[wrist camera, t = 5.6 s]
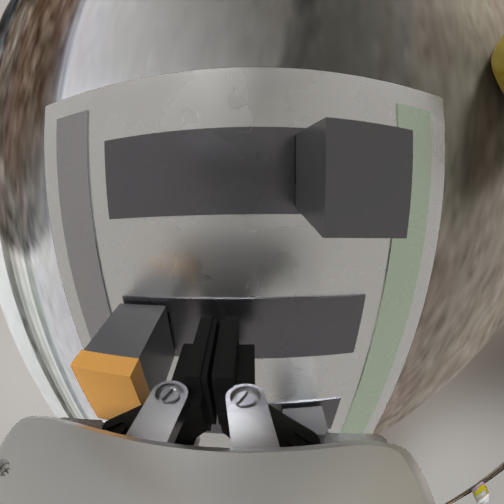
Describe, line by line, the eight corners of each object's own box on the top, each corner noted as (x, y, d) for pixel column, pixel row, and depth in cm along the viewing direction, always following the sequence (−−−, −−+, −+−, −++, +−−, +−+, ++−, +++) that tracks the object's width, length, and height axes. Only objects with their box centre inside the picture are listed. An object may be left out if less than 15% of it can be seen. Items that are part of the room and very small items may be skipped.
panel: (61, 108, 11) (44, 106, 9) (427, 101, 11) (443, 97, 9) (131, 424, 18) (126, 437, 17) (365, 424, 18) (370, 437, 17)
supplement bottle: (481, 482, 49) (489, 500, 37) (469, 490, 50) (477, 508, 37) (484, 479, 47) (493, 497, 35) (472, 487, 48) (480, 506, 36)
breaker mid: (119, 302, 12) (70, 365, 8) (166, 304, 12) (129, 376, 8) (132, 351, 13) (97, 417, 9) (176, 355, 13) (151, 428, 9)
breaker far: (282, 408, 15) (288, 468, 11) (322, 405, 15) (335, 463, 11) (279, 433, 16) (284, 487, 12) (315, 430, 16) (325, 482, 12)
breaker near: (296, 134, 10) (325, 117, 6) (355, 138, 10) (413, 129, 6) (295, 207, 11) (322, 237, 7) (353, 209, 11) (406, 238, 7)
